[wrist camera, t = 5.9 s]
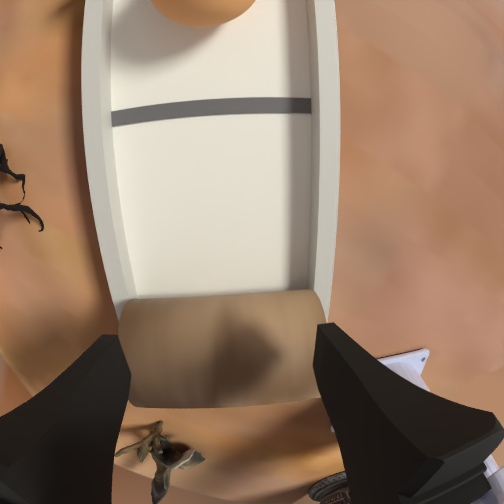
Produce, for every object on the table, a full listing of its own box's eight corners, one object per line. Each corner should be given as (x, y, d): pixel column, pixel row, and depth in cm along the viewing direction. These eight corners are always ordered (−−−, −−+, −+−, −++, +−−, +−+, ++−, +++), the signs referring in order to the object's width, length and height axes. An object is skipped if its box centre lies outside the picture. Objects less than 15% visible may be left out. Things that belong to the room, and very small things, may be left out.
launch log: (299, 349, 20) (320, 418, 14) (156, 357, 19) (141, 428, 14) (304, 269, 18) (337, 334, 12) (137, 279, 17) (105, 346, 11)
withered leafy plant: (103, 428, 22) (139, 482, 24) (123, 478, 17) (166, 527, 19) (172, 399, 27) (198, 456, 29) (207, 440, 21) (232, 494, 23)
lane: (311, 349, 21) (325, 388, 18) (145, 358, 21) (135, 399, 17) (313, -42, 11) (334, -74, 7) (106, -29, 10) (82, -57, 7)
